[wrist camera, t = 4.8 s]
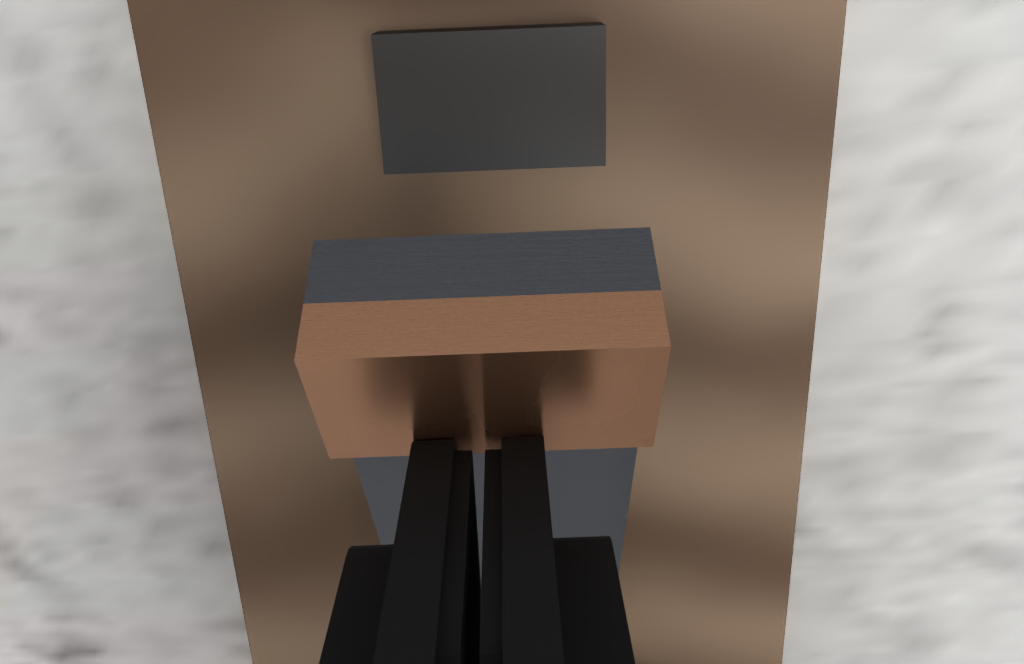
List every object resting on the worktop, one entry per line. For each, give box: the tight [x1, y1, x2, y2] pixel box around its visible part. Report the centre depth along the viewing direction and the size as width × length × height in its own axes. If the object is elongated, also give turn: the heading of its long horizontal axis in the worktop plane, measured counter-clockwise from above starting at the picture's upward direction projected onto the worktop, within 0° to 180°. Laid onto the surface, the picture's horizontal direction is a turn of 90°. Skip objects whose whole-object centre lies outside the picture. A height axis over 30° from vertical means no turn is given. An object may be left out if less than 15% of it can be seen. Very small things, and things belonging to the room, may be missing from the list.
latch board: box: [127, 0, 847, 664], centre depth 21 cm, size 28×16×6 cm, turn 2°
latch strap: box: [294, 227, 671, 578], centre depth 18 cm, size 21×5×2 cm, turn 2°
